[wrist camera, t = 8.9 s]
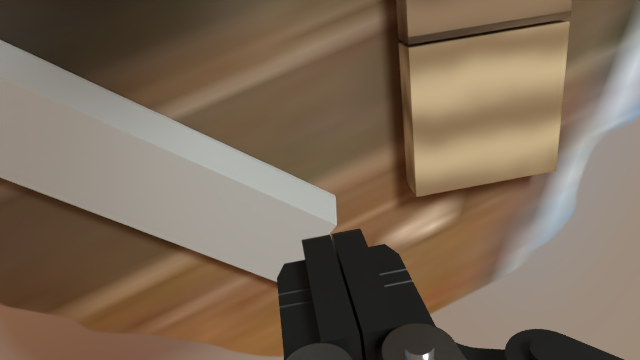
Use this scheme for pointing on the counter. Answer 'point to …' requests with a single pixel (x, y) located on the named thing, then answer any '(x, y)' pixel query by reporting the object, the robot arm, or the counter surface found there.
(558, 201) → the counter surface
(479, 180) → the oak plank
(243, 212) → the decorative molding
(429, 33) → the wooden block
